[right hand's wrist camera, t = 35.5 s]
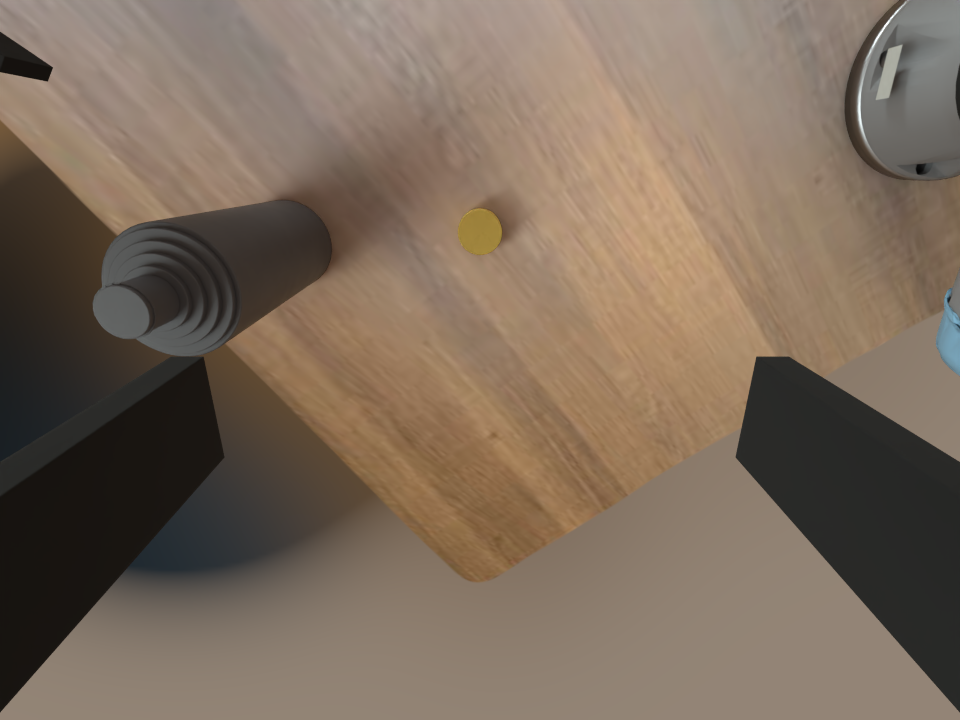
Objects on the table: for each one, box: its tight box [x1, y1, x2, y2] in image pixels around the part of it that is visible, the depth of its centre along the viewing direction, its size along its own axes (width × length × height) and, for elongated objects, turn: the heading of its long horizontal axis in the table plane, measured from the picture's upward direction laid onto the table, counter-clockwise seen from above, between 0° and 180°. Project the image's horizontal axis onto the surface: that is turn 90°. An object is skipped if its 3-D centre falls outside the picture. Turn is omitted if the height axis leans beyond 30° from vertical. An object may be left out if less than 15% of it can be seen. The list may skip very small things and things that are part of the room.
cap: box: [458, 208, 502, 255], centre depth 46 cm, size 4×4×2 cm
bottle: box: [93, 200, 332, 356], centre depth 36 cm, size 8×8×24 cm
